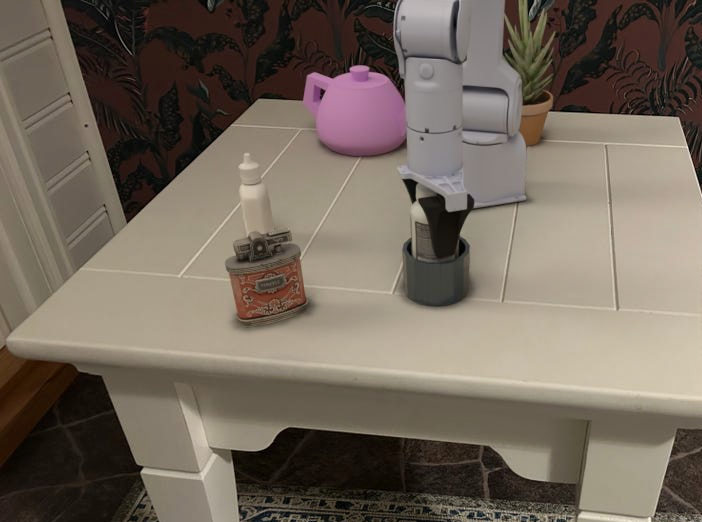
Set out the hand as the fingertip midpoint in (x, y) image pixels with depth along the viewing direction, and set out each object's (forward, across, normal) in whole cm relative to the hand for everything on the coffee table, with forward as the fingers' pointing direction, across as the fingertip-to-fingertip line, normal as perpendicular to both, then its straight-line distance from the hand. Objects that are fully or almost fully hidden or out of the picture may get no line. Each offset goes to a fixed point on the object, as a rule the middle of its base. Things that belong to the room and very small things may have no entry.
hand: (436, 242), depth 83 cm
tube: (+6, 0, 0) cm, 6 cm away
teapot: (+6, -48, +3) cm, 49 cm away
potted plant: (+6, -40, +28) cm, 49 cm away
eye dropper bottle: (+6, -18, -18) cm, 26 cm away
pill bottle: (+3, 0, 0) cm, 3 cm away
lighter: (+6, -1, -19) cm, 20 cm away
